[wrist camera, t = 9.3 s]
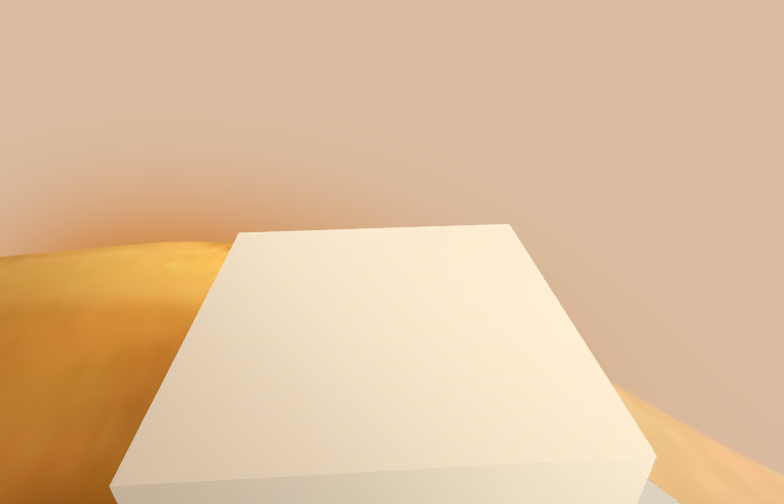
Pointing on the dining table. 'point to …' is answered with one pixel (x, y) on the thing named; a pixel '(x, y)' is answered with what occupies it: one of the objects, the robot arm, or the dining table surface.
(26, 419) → the dining table surface
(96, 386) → the dining table surface
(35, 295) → the dining table surface
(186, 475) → the cream block
